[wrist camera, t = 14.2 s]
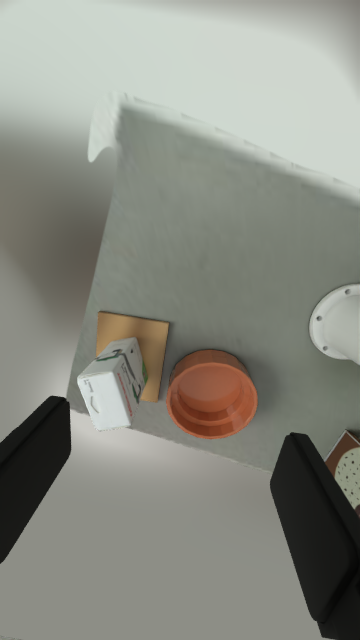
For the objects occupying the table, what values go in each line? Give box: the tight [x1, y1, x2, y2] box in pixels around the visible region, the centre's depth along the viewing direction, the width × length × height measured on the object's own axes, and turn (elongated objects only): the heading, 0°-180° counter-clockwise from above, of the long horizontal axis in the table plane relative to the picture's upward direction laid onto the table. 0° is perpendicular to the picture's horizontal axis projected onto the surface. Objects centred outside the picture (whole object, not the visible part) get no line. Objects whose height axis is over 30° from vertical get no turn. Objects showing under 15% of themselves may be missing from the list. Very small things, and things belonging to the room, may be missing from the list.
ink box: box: [77, 337, 148, 431], centre depth 33 cm, size 9×5×12 cm, turn 13°
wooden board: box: [96, 311, 169, 403], centre depth 39 cm, size 12×16×1 cm
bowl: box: [166, 349, 258, 439], centre depth 38 cm, size 15×15×5 cm
